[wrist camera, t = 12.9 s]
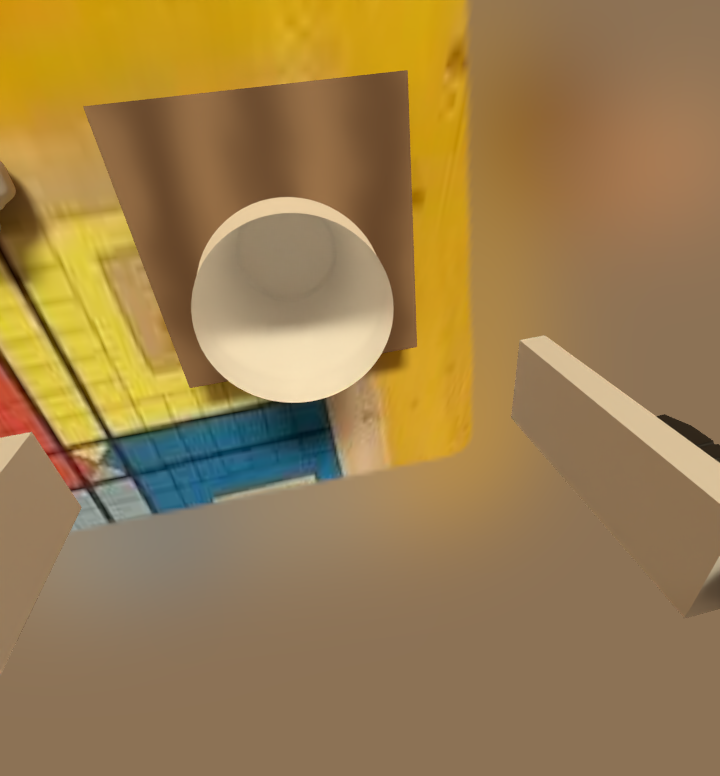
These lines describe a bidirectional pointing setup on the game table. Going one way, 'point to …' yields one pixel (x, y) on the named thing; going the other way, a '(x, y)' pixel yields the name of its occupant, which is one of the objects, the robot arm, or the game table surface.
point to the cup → (291, 301)
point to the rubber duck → (5, 187)
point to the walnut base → (260, 179)
